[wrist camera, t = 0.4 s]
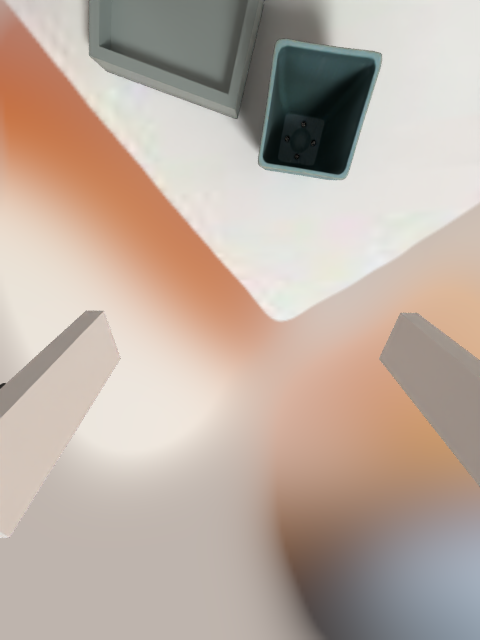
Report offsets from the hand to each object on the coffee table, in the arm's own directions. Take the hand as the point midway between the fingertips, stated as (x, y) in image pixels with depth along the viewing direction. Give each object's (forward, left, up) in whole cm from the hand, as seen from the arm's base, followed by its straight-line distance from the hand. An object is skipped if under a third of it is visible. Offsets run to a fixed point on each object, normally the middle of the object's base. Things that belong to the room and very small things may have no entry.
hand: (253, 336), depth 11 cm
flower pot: (-14, +1, -26) cm, 30 cm away
